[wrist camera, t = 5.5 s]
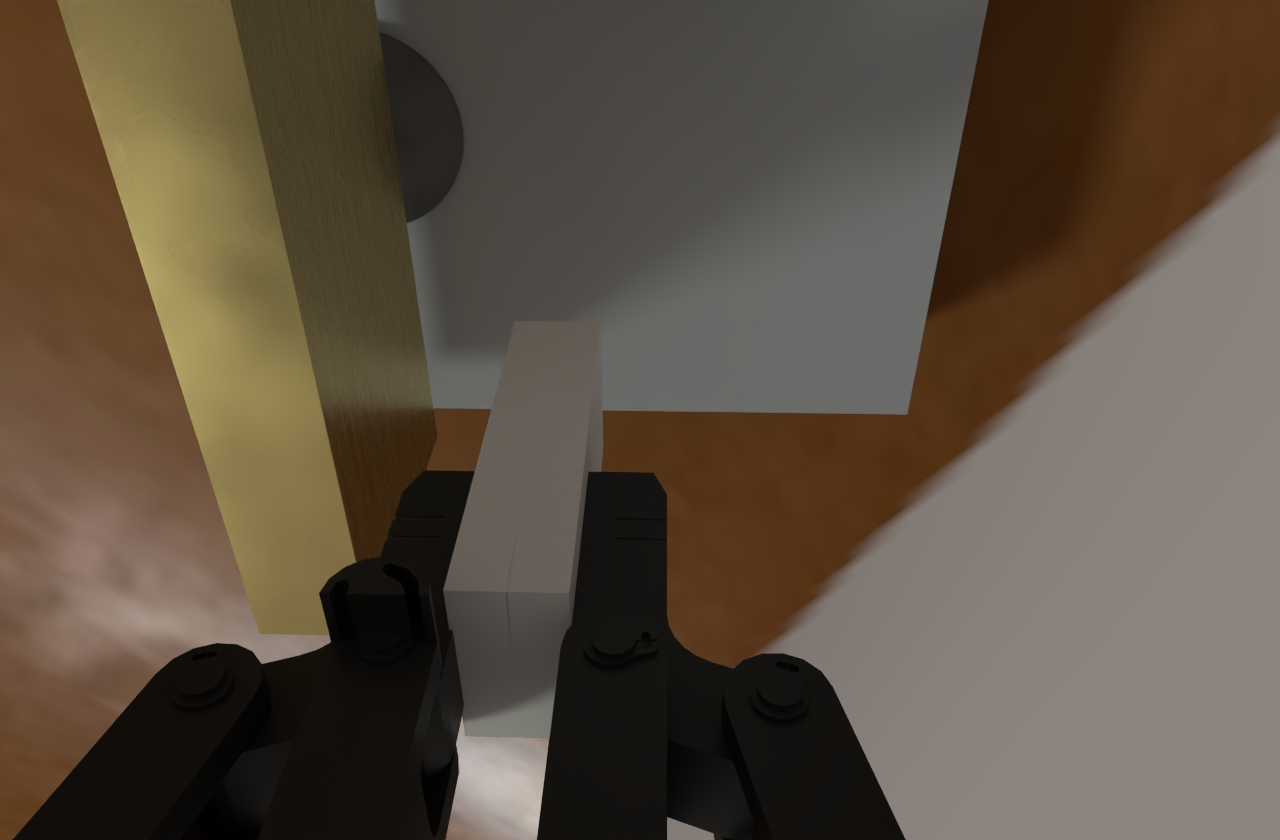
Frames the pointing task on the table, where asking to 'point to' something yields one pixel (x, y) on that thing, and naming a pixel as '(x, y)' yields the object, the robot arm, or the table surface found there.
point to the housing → (681, 189)
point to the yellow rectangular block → (272, 267)
